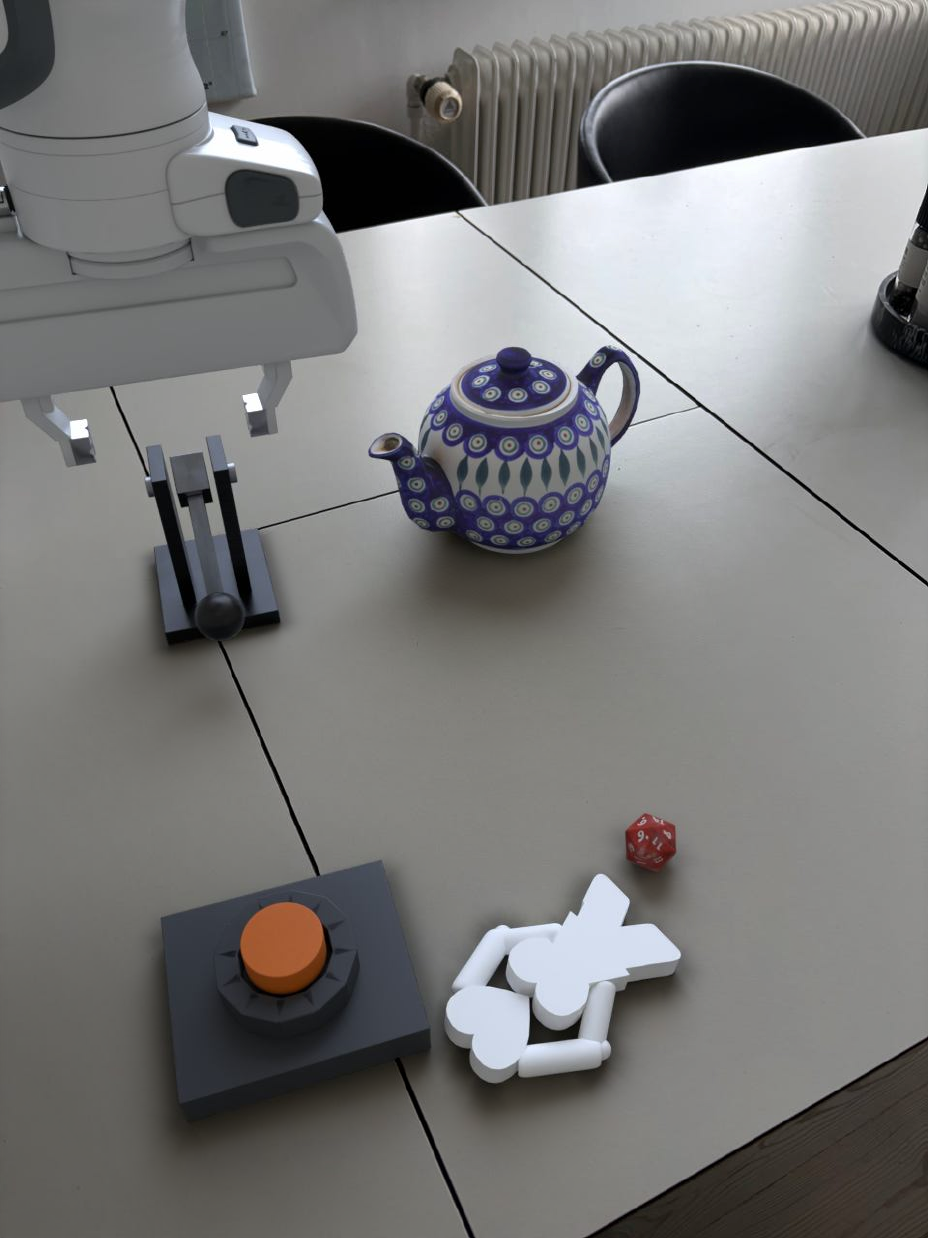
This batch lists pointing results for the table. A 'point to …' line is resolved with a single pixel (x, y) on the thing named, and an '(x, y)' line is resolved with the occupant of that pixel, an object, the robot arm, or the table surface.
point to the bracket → (233, 550)
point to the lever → (206, 550)
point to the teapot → (512, 450)
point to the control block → (289, 995)
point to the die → (650, 842)
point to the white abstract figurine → (553, 987)
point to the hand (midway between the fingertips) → (173, 444)
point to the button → (283, 948)
